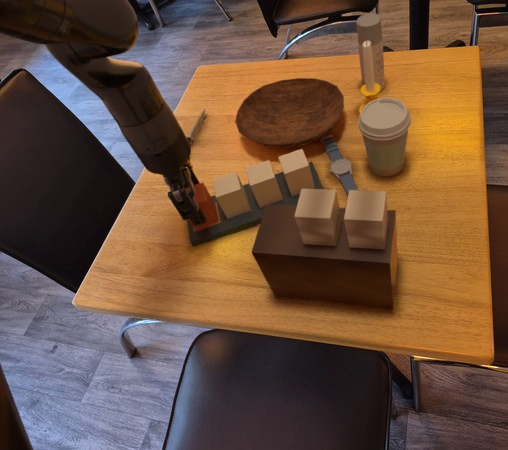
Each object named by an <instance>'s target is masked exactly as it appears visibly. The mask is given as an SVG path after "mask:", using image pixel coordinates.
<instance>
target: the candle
mask: <svg viewBox="0 0 508 450" xmlns="http://www.w3.org/2000/svg"><path fill="white" fill-rule="evenodd" d="M363 60H364V72H365V85H363V86H361V87H360V89H359V90H360V94H361V95H363V96H364V99H363V103H362V104H361V105H360V106H359V108H358V111H359V112H358V113H359V114H360V113H361V110H362V109H363V107H364V106H365V105H366V104H368V103H369V102H371V101H373V100H376V99H380V98H379V97H378V94H379V93H380V92H379V91H380V90H381V87H380V85H379V84H377V83H374V71H373V59H372V48H371V42H370V41H367V40H366V41H365V42H364V43H363Z"/></svg>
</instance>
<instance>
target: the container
mask: <svg viewBox="0 0 508 450" xmlns="http://www.w3.org/2000/svg"><path fill="white" fill-rule="evenodd" d="M356 30H357V31H356V32H357V33H356V35H357V46H358V54H359V55H358V56H359V66H360V67H359V68H360V77H361V85H362V86H363V85H365V72H364V60H363V43H364V42H365V41H366V40H367V41H370V42H371V48H372V59H373V71H374V83H377V84H379V85H380V87H381V90H380V91H379V93H381V92H382V91H383V90H384V89H385V87H386V82H385V60H384V44H383V43H384V42H383V30H382V17H381V15H379V14H377V13H373V12H372V13H371V12H369V13H365V14H362V15H360V16H359V17H358V18H357V19H356ZM362 86H361V87H362Z"/></svg>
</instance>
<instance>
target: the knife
mask: <svg viewBox="0 0 508 450" xmlns="http://www.w3.org/2000/svg"><path fill="white" fill-rule="evenodd" d="M205 113H206V108H204V109H203V110H201V112H200V114H199V116H198V117H197V119H196V121H195V123H194V125H193V127H192V129H191V130H190V132H189V134H188V135H187V136H186V138H187V140H188V141H189V143H190V144H191V143H192V142H196V139H197V136H198V134H199V132H200V129H201V126H202V125H203V122H204V118H205Z"/></svg>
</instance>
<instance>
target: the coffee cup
mask: <svg viewBox="0 0 508 450" xmlns="http://www.w3.org/2000/svg"><path fill="white" fill-rule="evenodd" d="M411 125H412V116H411V113H410V111H409V109H408V107H407V105H406V104H405V103H404V102H403V101H402V100H400V99H397V98H393V97H380V98H379V99H376V100H373V101H371V102H369V103H368V104H366V105H365V106H364V107H363V109H362V110H361V113H359V116H358V119H357V128H358V130H359V132H360V134H361V136H362V137H361V138H362V140H363V144H364V148H365V152H366V155H367V158H368V162H369V166H370V169H371V171H372V172H373V173H374V174H375V175H377V176H379V177H391V176H394V175H396V174H398V173H400V172H401V170H402V169H403V166H404V161H405V157H406V156H405V155H406V150H407V149H406V148H407V141H408V136H409V135H408V134H409V128H410V127H411Z"/></svg>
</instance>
